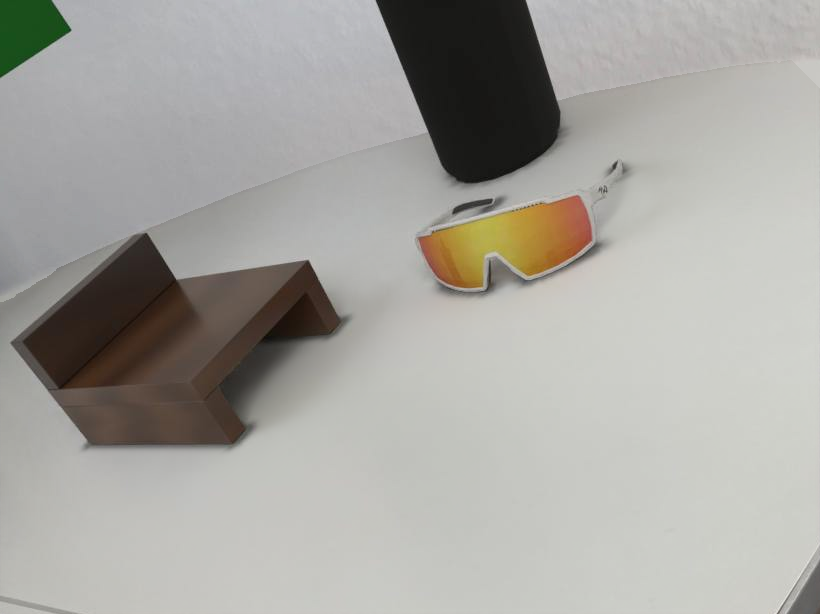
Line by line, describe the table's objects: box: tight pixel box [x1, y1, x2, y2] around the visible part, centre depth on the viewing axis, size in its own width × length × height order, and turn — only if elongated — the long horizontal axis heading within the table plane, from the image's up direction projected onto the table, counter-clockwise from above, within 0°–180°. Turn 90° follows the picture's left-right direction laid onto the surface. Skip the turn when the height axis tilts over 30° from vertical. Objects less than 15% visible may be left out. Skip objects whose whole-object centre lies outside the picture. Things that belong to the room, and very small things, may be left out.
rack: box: [10, 232, 342, 445], centre depth 71 cm, size 16×14×9 cm
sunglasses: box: [414, 158, 624, 293], centre depth 69 cm, size 14×15×5 cm
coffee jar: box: [374, 0, 562, 184], centre depth 77 cm, size 11×11×18 cm
